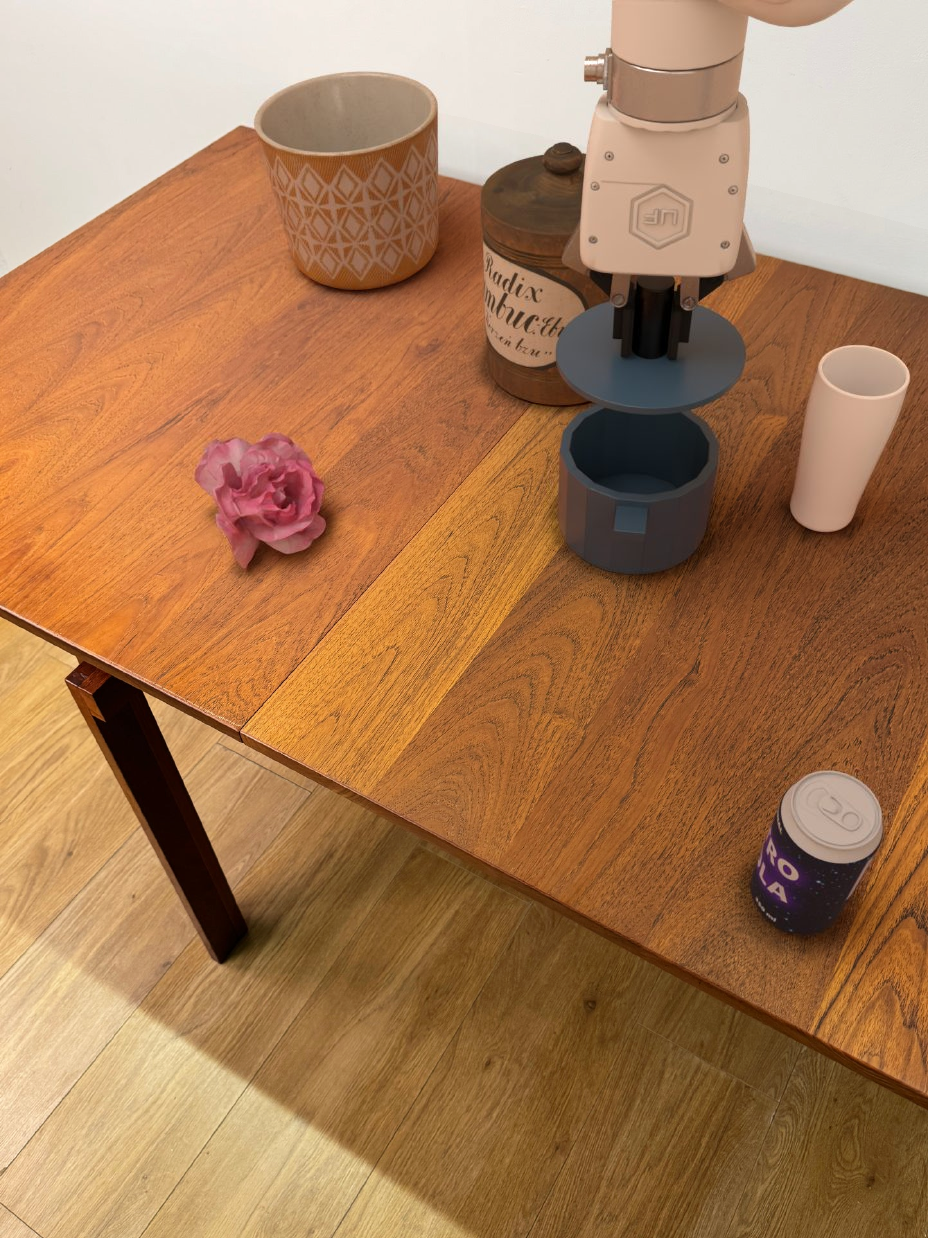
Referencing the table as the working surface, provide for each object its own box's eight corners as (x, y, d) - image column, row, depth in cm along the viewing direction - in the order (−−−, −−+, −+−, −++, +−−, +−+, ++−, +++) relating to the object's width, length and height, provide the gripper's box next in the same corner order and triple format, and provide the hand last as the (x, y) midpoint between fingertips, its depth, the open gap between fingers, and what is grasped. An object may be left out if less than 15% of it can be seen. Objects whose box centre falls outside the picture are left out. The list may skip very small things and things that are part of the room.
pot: (708, 458, 92) (721, 382, 85) (701, 606, 80) (715, 533, 74) (571, 447, 94) (573, 372, 87) (545, 590, 82) (546, 517, 76)
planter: (446, 297, 110) (434, 148, 98) (274, 304, 111) (240, 158, 99) (449, 208, 123) (439, 65, 110) (294, 215, 124) (266, 75, 111)
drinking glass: (869, 540, 84) (922, 397, 72) (788, 542, 84) (828, 400, 73) (850, 485, 88) (898, 341, 77) (773, 487, 89) (809, 345, 77)
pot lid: (745, 314, 76) (759, 231, 71) (742, 428, 68) (758, 344, 63) (567, 305, 78) (568, 225, 73) (543, 414, 70) (543, 332, 65)
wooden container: (457, 361, 103) (442, 148, 86) (560, 302, 109) (565, 92, 92) (558, 428, 95) (563, 209, 78) (663, 361, 101) (689, 143, 84)
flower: (345, 540, 92) (349, 518, 82) (245, 585, 90) (237, 568, 80) (291, 429, 92) (289, 394, 82) (191, 472, 90) (176, 442, 81)
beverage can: (781, 841, 67) (820, 746, 58) (856, 897, 64) (909, 807, 55) (730, 899, 65) (762, 809, 56) (806, 959, 62) (853, 876, 53)
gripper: (526, 105, 57) (531, 372, 71) (820, 109, 54) (765, 386, 68) (544, 51, 62) (545, 312, 76) (816, 52, 59) (765, 322, 73)
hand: (650, 345), depth 72 cm, fingers closed on pot lid, 2 cm apart
